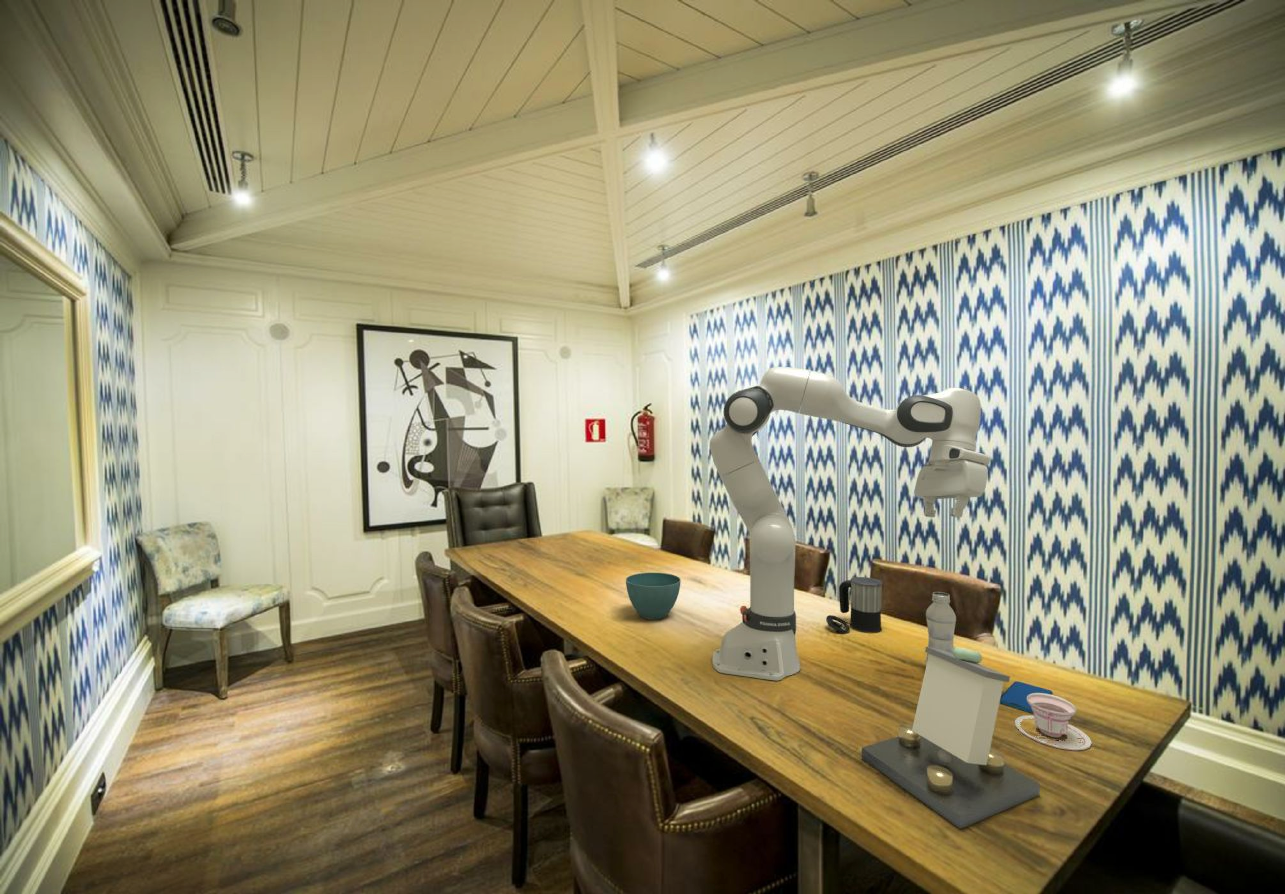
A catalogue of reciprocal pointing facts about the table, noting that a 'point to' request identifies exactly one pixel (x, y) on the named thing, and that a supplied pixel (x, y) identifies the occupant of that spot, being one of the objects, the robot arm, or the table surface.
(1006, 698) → the smartphone
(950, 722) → the instrument head
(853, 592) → the milk frother
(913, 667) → the table surface
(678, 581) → the plant pot
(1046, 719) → the teacup
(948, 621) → the plastic bottle
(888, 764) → the base
